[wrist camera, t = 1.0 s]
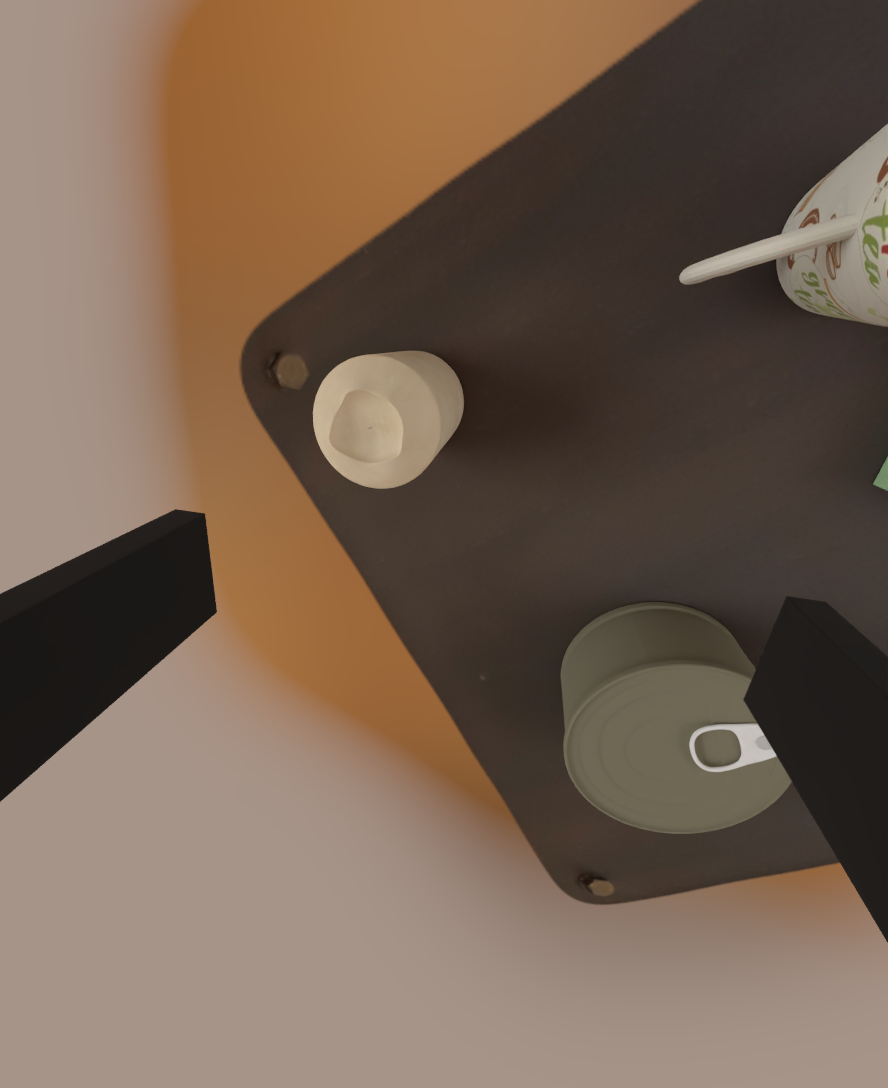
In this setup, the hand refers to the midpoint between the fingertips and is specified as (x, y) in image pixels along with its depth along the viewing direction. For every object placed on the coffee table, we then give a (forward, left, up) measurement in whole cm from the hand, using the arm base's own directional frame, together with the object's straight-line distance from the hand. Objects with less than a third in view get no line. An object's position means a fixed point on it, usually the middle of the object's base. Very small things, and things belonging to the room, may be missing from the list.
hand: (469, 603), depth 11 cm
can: (+14, +13, -19) cm, 26 cm away
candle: (-1, -5, -19) cm, 20 cm away
